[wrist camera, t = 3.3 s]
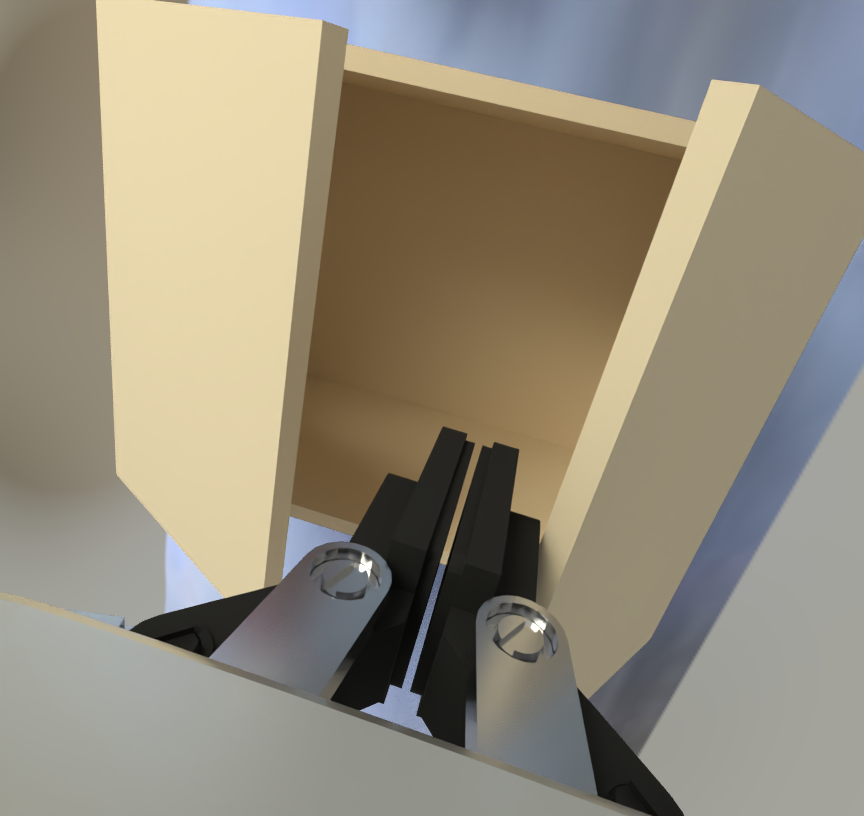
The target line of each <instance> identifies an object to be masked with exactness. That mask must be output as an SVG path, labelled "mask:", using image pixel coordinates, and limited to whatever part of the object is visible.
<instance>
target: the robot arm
mask: <svg viewBox="0 0 864 816" xmlns="http://www.w3.org/2000/svg"><path fill="white" fill-rule="evenodd" d="M466 438H467V433H464V432H461V431H457V430H454V429H451V428H447V427H444V426H443V427H442V429H441V431H440V433H439V436H438V438H437V440H436V442H435V444H434V447H433V449H432V451H431V453H430V456H429V458H428V460H427V462H426V464H425V467H424V469H423V471H422V473H421V476H420V478H419V480H418V482H417V481H414V480H411V479H408V478H404V477H401V476H398V475H395V474H392V473H388V474H387V476H386V477H385V479H384V481H383V483H382V485H381V486H380V488H379V490H378V492H377V494H376V495H375V497H374V499H373V501H372V503H371V504H370V506H369V508H368V510H367V512H366V513H365V515H364V517H363V519H362V521H361V522H360V524H359V526H358V528H357V530H356V531H355V533H354V535H353V537H352V539H351V540H350V542H332V543H326V544H324V545H321V546H318V547H316V548H314V549H313V550H312V551H310V552H309V553H308V554H306V556H305V557H304V558H303V559H302V560H301V561H300V562H299V563H298V564H297V565H296V566H295V567H294V568H293V569H292V570H291V571H290V572H289V574H288V575H287V576H286V577H285V578H284V579H283V580H282V581H281V582H280V583H279V584H278V585H274V586H270V587H266V588H262V589H259V590H255V591H251V592H247V593H243V594H239V595H235V596H231V597H228V598H224V599H220V600H216V601H212V602H208V603H204V604H200V605H197V606H193V607H189V608H185V609H181V610H177V611H173V612H169V613H166V614H162V615H159V616H156V617H153V618H150V619H148V620H145V621H143V622H141V623H139V624H138V625H136V626H127V625H125V623H124V622H125V621H124V617H120V616H112V615H105V614H97V613H90V612H82V611H74V610H67V609H61V608H58V607H54V606H51V605H47V604H44V603H41V602H37V601H33V600H30V599H27V598H23V597H20V596H16V595H11V594H6V593H2V592H0V816H684V814H683V812H682V811H681V809H680V808H679V807H678V805H677V804H676V802H675V801H674V799H673V798H672V797H671V795H670V794H669V793H668V792H667V791H666V789H665V788H664V787H663V786H662V785H661V784H660V782H659V781H658V780H657V779H656V778H655V777H654V775H653V774H652V773H651V772H650V771H649V770H648V768H647V767H646V766H645V765H644V764H643V763H642V762H641V760H640V759H639V758H638V757H637V756H636V755H635V753H634V752H633V751H632V750H631V749H630V748H629V746H628V745H627V744H626V743H625V742H624V741H623V739H622V738H621V737H620V736H619V735H618V734H617V733H616V731H615V730H614V729H613V728H612V727H611V726H610V724H609V723H608V722H607V721H606V720H605V719H604V717H603V716H602V715H601V714H600V713H599V712H598V710H597V709H596V708H595V707H594V706H593V705H592V704H591V702H590V701H589V700H588V699H587V698H586V697H585V695H584V694H583V693H582V692H581V691H580V690H579V688H578V687H577V685H576V680H575V675H574V670H573V664H572V659H571V654H570V649H569V644H568V640H567V637H566V634H565V631H564V629H563V627H562V626H561V625H560V623H559V622H558V621H557V619H556V618H555V617H554V616H553V615H552V614H551V613H550V612H548V611H547V610H546V609H545V608H543V607H542V606H540V605H538V604H536V592H537V575H538V559H539V542H540V520H539V519H535V518H532V517H529V516H526V515H522V514H519V513H516V512H513V511H511V504H512V497H513V490H514V484H515V477H516V470H517V463H518V457H519V449H517V448H513V447H510V446H507V445H503V444H500V443H497V442H494V444H493V446H492V448H490V447H487V446H483V445H482V448H481V451H480V455H479V458H478V461H477V465H476V468H475V471H474V474H473V478H472V481H471V484H470V488H469V491H468V494H467V498H466V501H465V504H464V507H463V511H462V514H461V517H460V521H459V524H458V527H457V530H456V534H455V537H454V540H453V544H452V547H451V550H450V554H449V557H448V560H447V564H446V567H445V571H444V574H443V578H442V581H441V585H440V588H439V592H438V595H437V599H436V603H435V606H434V610H433V613H432V617H431V620H430V624H429V627H428V631H427V634H426V638H425V641H424V645H423V648H422V652H421V655H420V659H419V662H418V666H417V669H416V673H415V676H414V680H413V683H412V687H411V690H410V692H413V693H416V694H419V695H421V699H420V703H419V707H418V711H417V715H416V716H419V717H422V719H423V721H424V722H425V724H426V726H427V727H428V729H429V731H430V732H431V734H432V736H433V737H432V736H429V735H426V734H423V733H420V732H418V731H415V730H412V729H409V728H406V727H404V726H401V725H398V724H395V723H392V722H390V721H387V720H384V719H381V718H378V717H375V716H373V715H370V714H367V713H364V712H361V711H359V710H362V709H364V708H366V707H369V706H371V705H373V704H376V703H378V702H380V703H383V704H384V702H385V698H386V695H387V692H388V689H389V686H390V684H391V685H393V686H396V687H399V688H402V685H403V682H404V679H405V675H406V672H407V669H408V665H409V662H410V659H411V656H412V652H413V649H414V646H415V642H416V639H417V636H418V633H419V629H420V626H421V623H422V620H423V616H424V613H425V610H426V606H427V603H428V600H429V597H430V593H431V590H432V587H433V583H434V580H435V577H436V574H437V570H438V567H439V564H440V561H441V557H442V554H443V551H444V547H445V544H446V541H447V537H448V534H449V530H450V527H451V524H452V520H453V517H454V514H455V510H456V507H457V503H458V500H459V497H460V493H461V490H462V487H463V483H464V480H465V477H466V473H467V470H468V466H469V463H470V460H471V456H472V453H473V450H474V446H475V443H474V442H470V441H467V440H466Z"/></svg>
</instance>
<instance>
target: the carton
mask: <svg viewBox="0 0 864 816" xmlns="http://www.w3.org/2000/svg"><path fill="white" fill-rule="evenodd" d="M695 124H696V122H695V121H691V120H686V119H682V118H677V117H673V116H668V115H664V114H659V113H655V112H650V111H646V110H641V109H637V108H632V107H628V106H623V105H619V104H614V103H610V102H605V101H601V100H596V99H592V98H587V97H583V96H578V95H574V94H569V93H565V92H560V91H556V90H551V89H547V88H542V87H538V86H533V85H529V84H524V83H520V82H515V81H511V80H506V79H502V78H497V77H493V76H488V75H484V74H480V73H475V72H471V71H466V70H462V69H457V68H453V67H448V66H444V65H439V64H435V63H430V62H426V61H421V60H417V59H412V58H408V57H403V56H399V55H394V54H390V53H385V52H381V51H376V50H372V49H367V48H363V47H358V46H354V45H349V44H347V46H346V54H345V62H344V71H343V79H342V87H341V95H340V104H339V112H338V120H337V128H336V137H335V145H334V153H333V161H332V170H331V178H330V186H329V194H328V203H327V211H326V219H325V227H324V236H323V244H322V252H321V260H320V269H319V277H318V285H317V293H316V302H315V310H314V318H313V326H312V335H311V343H310V351H309V359H308V368H307V376H306V384H305V392H304V401H303V409H302V417H301V425H300V434H299V442H298V450H297V458H296V467H295V475H294V483H293V491H292V500H291V508H290V516H291V517H294V518H297V519H301V520H304V521H307V522H310V523H313V524H317V525H320V526H323V527H326V528H329V529H333V530H336V531H339V532H342V533H345V534H349V535H352V536H353V535H354V533H355V531H356V530H357V528H358V526H359V524H360V522H361V521H362V519H363V517H364V515H365V513H366V512H367V510H368V508H369V506H370V504H371V503H372V501H373V499H374V497H375V495H376V494H377V492H378V490H379V488H380V486H381V485H382V483H383V481H384V479H385V477H386V476H387V474H388V473H392V474H395V475H398V476H401V477H404V478H408V479H411V480H414V481H417V482H418V480H419V478H420V476H421V473H422V471H423V469H424V467H425V464H426V462H427V460H428V458H429V456H430V453H431V451H432V449H433V447H434V444H435V442H436V440H437V438H438V436H439V433H440V431H441V429H442V427H443V426H444V427H447V428H451V429H454V430H457V431H461V432H464V433H467V438H466V440H467V441H470V442H474V443H475V446H474V450H473V453H472V456H471V460H470V463H469V466H468V470H467V473H466V477H465V480H464V483H463V487H462V490H461V493H460V497H459V500H458V503H457V507H456V510H455V514H454V517H453V520H452V524H451V527H450V530H449V534H448V537H447V541H446V544H445V547H444V551H443V554H442V557H441V561H440V563H441V564H444V565H446V564H447V560H448V557H449V554H450V550H451V547H452V544H453V540H454V537H455V534H456V530H457V527H458V524H459V521H460V517H461V514H462V511H463V507H464V504H465V501H466V498H467V494H468V491H469V488H470V484H471V481H472V478H473V474H474V471H475V468H476V465H477V461H478V458H479V455H480V451H481V448H482V445H483V446H487V447H490V448H492V446H493V444H494V442H497V443H500V444H503V445H507V446H510V447H513V448H517V449H519V457H518V463H517V470H516V477H515V484H514V490H513V497H512V504H511V511H513V512H516V513H519V514H522V515H526V516H529V517H532V518H535V519H539V520H540V542H541V539H542V536H543V534H544V531H545V528H546V526H547V523H548V520H549V518H550V515H551V512H552V509H553V507H554V504H555V501H556V499H557V496H558V493H559V491H560V488H561V485H562V483H563V480H564V477H565V474H566V472H567V469H568V466H569V464H570V461H571V458H572V456H573V453H574V450H575V447H576V445H577V442H578V439H579V437H580V434H581V431H582V429H583V426H584V423H585V421H586V418H587V415H588V412H589V410H590V407H591V404H592V402H593V399H594V396H595V394H596V391H597V388H598V385H599V383H600V380H601V377H602V375H603V372H604V369H605V367H606V364H607V361H608V358H609V356H610V353H611V350H612V348H613V345H614V342H615V340H616V337H617V334H618V332H619V329H620V326H621V323H622V321H623V318H624V315H625V313H626V310H627V307H628V305H629V302H630V299H631V296H632V294H633V291H634V288H635V286H636V283H637V280H638V278H639V275H640V272H641V270H642V267H643V264H644V261H645V259H646V256H647V253H648V251H649V248H650V245H651V243H652V240H653V237H654V234H655V232H656V229H657V226H658V224H659V221H660V218H661V216H662V213H663V210H664V207H665V205H666V202H667V199H668V197H669V194H670V191H671V189H672V186H673V183H674V181H675V178H676V175H677V172H678V170H679V167H680V164H681V162H682V159H683V156H684V154H685V151H686V148H687V145H688V143H689V140H690V137H691V135H692V132H693V129H694V127H695ZM540 542H539V545H540Z"/></svg>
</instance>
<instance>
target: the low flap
mask: <svg viewBox="0 0 864 816" xmlns="http://www.w3.org/2000/svg"><path fill="white" fill-rule="evenodd" d="M96 7H97V8H96V9H97V32H98V55H99V79H100V100H101V125H102V149H103V171H104V195H105V217H106V218H105V219H106V242H107V264H108V288H109V311H110V334H111V358H112V381H113V404H114V428H115V451H116V474H117V475H118V476H119V478H120V479H121V480H122V481H123V482H124V483H125V485H126V486H127V487H128V488H129V489H130V490H131V492H132V493H133V494H134V495H135V496H136V497H137V498H138V499H139V501H140V502H141V503H142V504H143V505H144V506H145V508H146V509H147V510H148V511H149V512H150V513H151V515H152V516H153V517H154V518H155V519H156V520H157V521H158V523H159V524H160V525H161V526H162V527H163V528H164V529H165V531H166V532H167V533H168V534H169V535H170V536H171V538H172V539H173V540H174V541H175V542H176V543H177V544H178V546H179V547H180V548H181V549H182V550H183V551H184V552H185V554H186V555H187V556H188V557H189V558H190V559H191V561H192V562H193V563H194V564H195V565H196V566H197V567H198V569H199V570H200V571H201V572H202V573H203V574H204V575H205V577H206V578H207V579H208V580H209V581H210V582H211V584H212V585H213V586H214V587H215V588H216V589H217V590H218V592H219V593H220V594H221V595H222V596H223V597H224V598H228V597H231V596H235V595H239V594H243V593H247V592H251V591H255V590H259V589H262V588H266V587H270V586H274V585H278V584H279V583H280V582H281V581H282V574H283V566H284V558H285V549H286V541H287V533H288V525H289V516H290V508H291V500H292V491H293V483H294V475H295V467H296V458H297V450H298V442H299V434H300V425H301V417H302V409H303V401H304V392H305V384H306V376H307V368H308V359H309V351H310V343H311V335H312V326H313V318H314V310H315V302H316V293H317V285H318V277H319V269H320V260H321V252H322V244H323V236H324V227H325V219H326V211H327V203H328V194H329V186H330V178H331V170H332V161H333V153H334V145H335V137H336V128H337V120H338V112H339V104H340V95H341V87H342V79H343V71H344V62H345V54H346V46H347V38H348V29H346V28H343V27H340V26H337V25H334V24H332V23H329V22H326V21H323V20H316V19H307V18H299V17H290V16H282V15H273V14H265V13H256V12H248V11H239V10H231V9H222V8H214V7H205V6H197V5H188V4H179V3H171V2H163V1H154V0H96Z"/></svg>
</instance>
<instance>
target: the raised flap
mask: <svg viewBox="0 0 864 816" xmlns="http://www.w3.org/2000/svg"><path fill="white" fill-rule="evenodd" d="M863 237H864V152H863V151H861V150H860V149H858V148H857V147H855V146H854V145H852V144H851V143H849V142H847V141H846V140H844V139H843V138H841V137H840V136H838V135H837V134H835V133H834V132H832V131H830V130H829V129H827V128H826V127H824V126H823V125H821V124H820V123H818V122H816V121H815V120H813V119H812V118H810V117H809V116H807V115H806V114H804V113H802V112H801V111H799V110H798V109H796V108H795V107H793V106H792V105H790V104H789V103H787V102H785V101H784V100H782V99H781V98H779V97H778V96H776V95H775V94H773V93H771V92H770V91H768V90H767V89H765V88H764V87H762V86H761V85H755V84H746V83H738V82H729V81H720V80H712V81H711V83H710V86H709V89H708V92H707V94H706V97H705V100H704V102H703V105H702V108H701V110H700V113H699V116H698V119H697V121H696V124H695V127H694V129H693V132H692V135H691V137H690V140H689V143H688V145H687V148H686V151H685V154H684V156H683V159H682V162H681V164H680V167H679V170H678V172H677V175H676V178H675V181H674V183H673V186H672V189H671V191H670V194H669V197H668V199H667V202H666V205H665V207H664V210H663V213H662V216H661V218H660V221H659V224H658V226H657V229H656V232H655V234H654V237H653V240H652V243H651V245H650V248H649V251H648V253H647V256H646V259H645V261H644V264H643V267H642V270H641V272H640V275H639V278H638V280H637V283H636V286H635V288H634V291H633V294H632V296H631V299H630V302H629V305H628V307H627V310H626V313H625V315H624V318H623V321H622V323H621V326H620V329H619V332H618V334H617V337H616V340H615V342H614V345H613V348H612V350H611V353H610V356H609V358H608V361H607V364H606V367H605V369H604V372H603V375H602V377H601V380H600V383H599V385H598V388H597V391H596V394H595V396H594V399H593V402H592V404H591V407H590V410H589V412H588V415H587V418H586V421H585V423H584V426H583V429H582V431H581V434H580V437H579V439H578V442H577V445H576V447H575V450H574V453H573V456H572V458H571V461H570V464H569V466H568V469H567V472H566V474H565V477H564V480H563V483H562V485H561V488H560V491H559V493H558V496H557V499H556V501H555V504H554V507H553V509H552V512H551V515H550V518H549V520H548V523H547V526H546V528H545V531H544V534H543V536H542V539H541V542H540V545H539V559H538V575H537V592H536V604H538V605H540V606H542V607H543V608H545V609H546V610H547V611H548V612H550V613H551V614H552V615H553V616H554V617H555V618H556V619H557V621H558V622H559V623H560V625H561V626H562V627H563V629H564V631H565V634H566V637H567V640H568V644H569V649H570V654H571V659H572V664H573V670H574V675H575V680H576V685H577V687H578V688H579V690H580V691H581V692H582V693H583V694H584V695H585V697H586V698H587V699H589V698H590V697H591V696H592V695H593V694H594V693H595V692H596V691H597V690H598V689H599V688H600V687H601V686H602V685H603V684H604V683H605V682H606V681H607V680H608V679H609V678H610V677H612V676H613V675H614V674H615V673H616V672H617V671H618V670H619V669H620V668H621V667H622V666H623V665H624V664H625V663H626V662H627V661H628V660H629V659H630V658H631V657H632V656H633V655H634V654H635V653H637V652H638V651H639V650H640V649H641V648H642V647H643V646H644V645H645V644H646V643H647V642H648V641H649V640H650V639H651V637H652V635H653V633H654V632H655V630H656V628H657V626H658V624H659V622H660V620H661V618H662V616H663V615H664V613H665V611H666V609H667V607H668V605H669V603H670V601H671V599H672V598H673V596H674V594H675V592H676V590H677V588H678V586H679V584H680V582H681V581H682V579H683V577H684V575H685V573H686V571H687V569H688V567H689V565H690V564H691V562H692V560H693V558H694V556H695V554H696V552H697V550H698V548H699V547H700V545H701V543H702V541H703V539H704V537H705V535H706V533H707V531H708V530H709V528H710V526H711V524H712V522H713V520H714V518H715V516H716V514H717V513H718V511H719V509H720V507H721V505H722V503H723V501H724V499H725V497H726V496H727V494H728V492H729V490H730V488H731V486H732V484H733V482H734V480H735V479H736V477H737V475H738V473H739V471H740V469H741V467H742V465H743V463H744V462H745V460H746V458H747V456H748V454H749V452H750V450H751V448H752V446H753V445H754V443H755V441H756V439H757V437H758V435H759V433H760V431H761V429H762V428H763V426H764V424H765V422H766V420H767V418H768V416H769V414H770V412H771V411H772V409H773V407H774V405H775V403H776V401H777V399H778V397H779V395H780V394H781V392H782V390H783V388H784V386H785V384H786V382H787V380H788V378H789V377H790V375H791V373H792V371H793V369H794V367H795V365H796V363H797V361H798V360H799V358H800V356H801V354H802V352H803V350H804V348H805V346H806V344H807V343H808V341H809V339H810V337H811V335H812V333H813V331H814V329H815V328H816V326H817V324H818V322H819V320H820V318H821V316H822V314H823V312H824V311H825V309H826V307H827V305H828V303H829V301H830V299H831V297H832V295H833V294H834V292H835V290H836V288H837V286H838V284H839V282H840V280H841V278H842V277H843V275H844V273H845V271H846V269H847V267H848V265H849V263H850V261H851V260H852V258H853V256H854V254H855V252H856V250H857V248H858V246H859V244H860V243H861V241H862V239H863Z"/></svg>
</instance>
